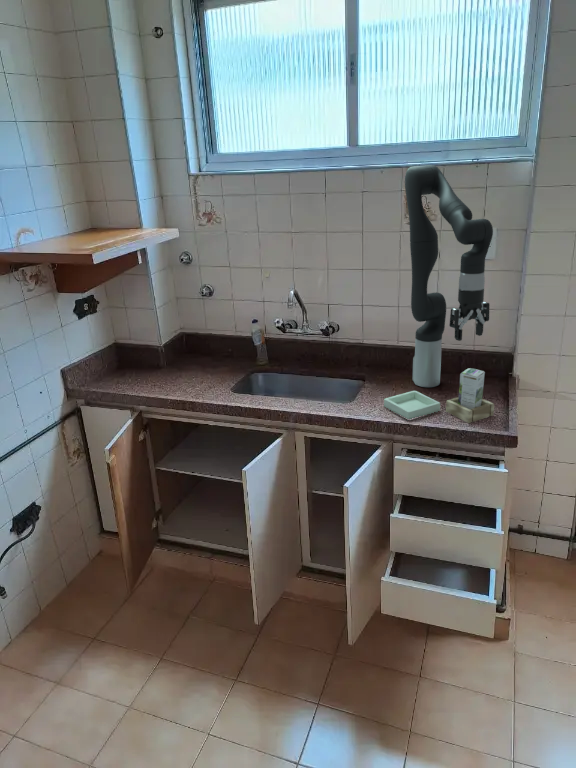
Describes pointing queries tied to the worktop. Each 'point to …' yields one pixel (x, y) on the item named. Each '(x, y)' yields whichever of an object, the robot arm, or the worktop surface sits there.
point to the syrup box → (471, 388)
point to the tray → (412, 404)
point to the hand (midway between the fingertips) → (468, 337)
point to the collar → (468, 414)
